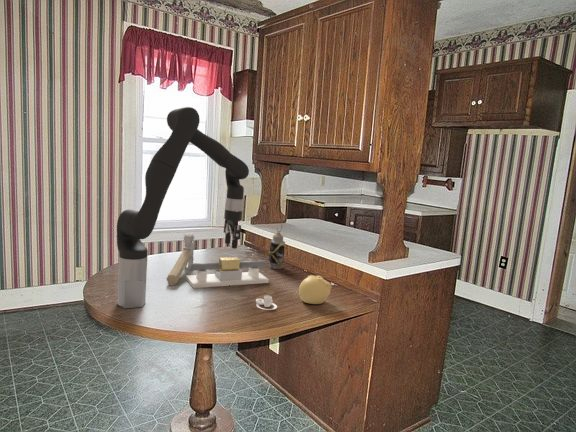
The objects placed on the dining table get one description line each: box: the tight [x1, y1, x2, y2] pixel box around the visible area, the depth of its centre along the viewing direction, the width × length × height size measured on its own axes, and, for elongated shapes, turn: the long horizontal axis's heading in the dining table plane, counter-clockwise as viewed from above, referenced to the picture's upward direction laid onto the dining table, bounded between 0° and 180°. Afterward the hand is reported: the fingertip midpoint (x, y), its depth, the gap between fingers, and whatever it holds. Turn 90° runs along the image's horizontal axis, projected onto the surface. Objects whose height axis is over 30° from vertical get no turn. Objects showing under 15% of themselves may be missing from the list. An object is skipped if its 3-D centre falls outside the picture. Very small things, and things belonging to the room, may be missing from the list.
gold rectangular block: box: [218, 256, 241, 272], centre depth 179 cm, size 4×8×6 cm, turn 118°
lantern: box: [267, 218, 286, 270], centre depth 207 cm, size 9×8×25 cm
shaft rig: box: [185, 260, 270, 289], centre depth 180 cm, size 12×34×8 cm, turn 118°
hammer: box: [166, 232, 195, 286], centre depth 181 cm, size 16×5×30 cm
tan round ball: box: [298, 274, 332, 305], centre depth 164 cm, size 11×12×11 cm
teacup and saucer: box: [255, 295, 278, 311], centre depth 156 cm, size 9×8×4 cm
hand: (230, 245), depth 178 cm, fingers open, 8 cm apart
